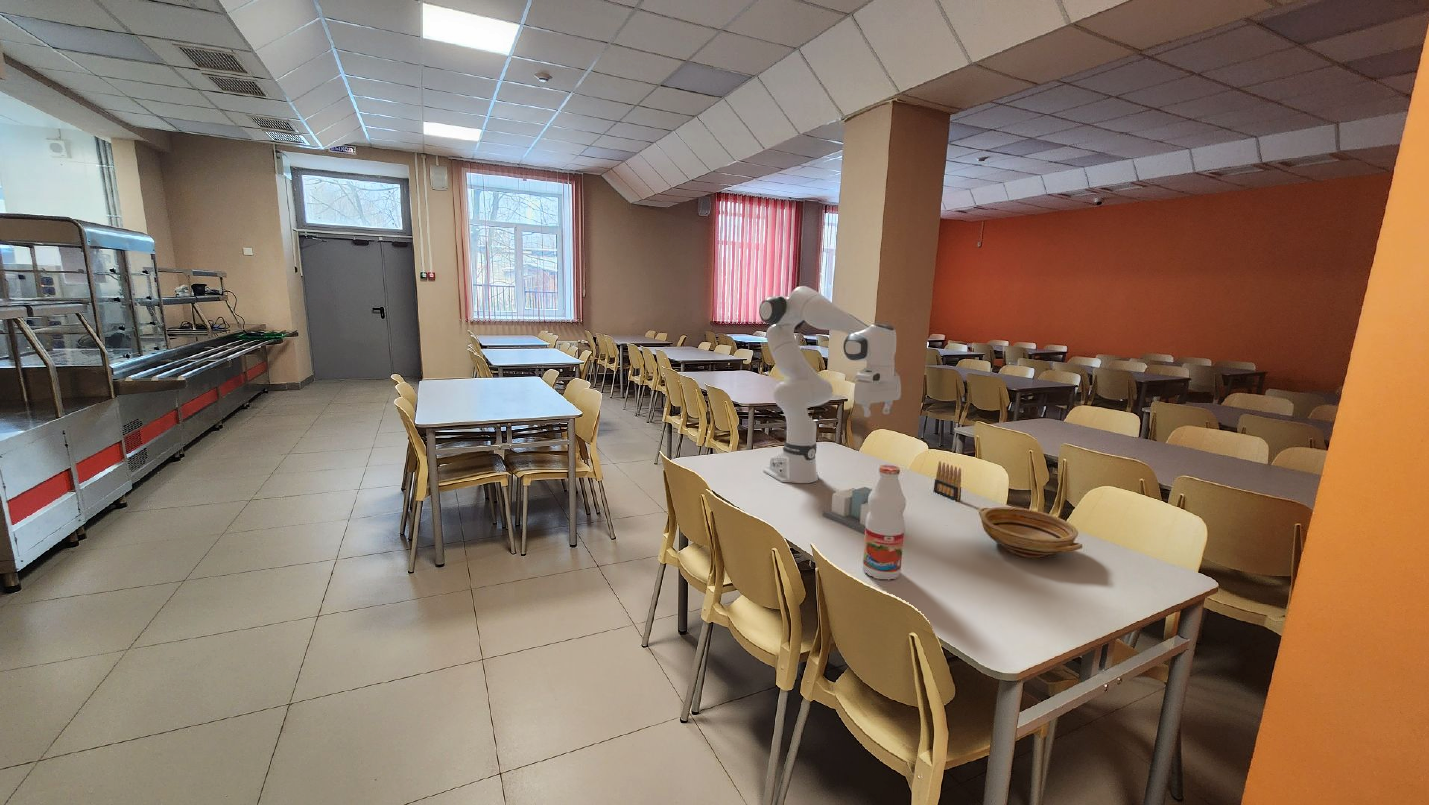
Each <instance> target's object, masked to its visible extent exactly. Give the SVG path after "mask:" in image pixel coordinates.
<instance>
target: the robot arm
mask: <svg viewBox="0 0 1429 805" xmlns="http://www.w3.org/2000/svg"><path fill="white" fill-rule="evenodd" d="M758 310H759V311H758V314H759V317H760V319H761V321H762V322H763V323H765V324H768V325H770V326H769V327H768V328H767V330H766V334H765V336H766V340H767V345H768V348H769V352H770V354H771V357H772V358H773V362H774V365H775V366H776V370H777V371H778V372H779V374H780V375H782V376H784V377H786V378H787V379H786V380H783V381H781V382H778V383H777V384H775V387H774V389H773V395H772V397H773V400H774V402H775V404H776V405H777V407H779V408H780V409H781V410H782V412H783V414H784V416H785V421H786V440H785V441H782V442H781V446H783V447H782V450H780V451H778V452H777V453H775V454H773V455H772V456H771V458H770V460H769V466H766V467H764V468H763V471H762V472H764V473H765V474H767V475H768V476H770V477H772V478H774V479H776V480H777V481H779V482H781V483H794V484H809V483H814V482H816V481H818V480H819V477H818V471H817V470H818V469H817V459H816V454H817V449H818V448H817V442H816V440H817V423H816V421H815V420H814V419H813V418H811V417H810V416H809V413H808V408H809V407H817V406H818V407H819V406H821V405H824V404H826V403H828V402H829V401H831V400H832V398H833V393H834V389H833V386H832V384H831V381H829V380H828V379H827V378H824V377H822V376H821V375H820V374H818V372H817V371H815V370H814V369H813V368H812V366H811V365H810V364H809V362H808V361H807V359H806V358H805V356H804V354H803V351H802V350H801V347H800V346H799V343H798V341H797V339H796V337H795V331H797V330H799V329H801V328H802V326H804V324H808V325H809V326H811V327H813V328H816V329H818V330H824V331H825V330H826V331H834V332H836V331H837V332H841V333H844V334H846V335H847V336H846V337H845V338H844V342H843V346H842V348H843V353H844V355H845V357H846V358H847V359H848V360H850V361H855V362H866V367H864V368H862V369H861V370H860V371H858V372H856V373H855V375H854V376H855V377H854V379H855V380H856V382H855V383H854V390H853V391H854V392H853V400H854V403H855V404H857V405H861V408H862V409H863V416H864V418H870V417H872V411H871V410H870V408H871V404H878V403H885V404H884V407H883V408H882V412H881V413H882V414H883V415H889V414H890V410H891V407H892V405H893V401H898V400H900V399H901V396H902V382H901V381H902V380H901V379H900V375H899V374H898V373H899V372H896V371H895V355H896V352H897V333H896V329H895V327H894V326H893V325H890V324H887V323H882V322H874V323H871V325H870V326H869V325H867V324H866V323H864V321H863V322H862V321H861V320H860V319H858V318H857V317H855V316H854V315H852V314H850V313H849V312H847V311H845V310H844V309H842V308H841V307H839V306H838V305H836V304H835V303H833V302H832V301H831V300H829V299H828V298H827V297H825V296H824V295H823V294H821V293H819V292H818V291H817V290H815V289H813V288H811V287H809V286H805V285H801V286H797V287H796V288H795V289H793V290H792V291H791V293H790V295H789V296H780V295H778V296H777V295H775V296H774V295H773V296H770V297H769V296H768V297H766V298H765V299H763V300H762V301H761V303H760V305H759V309H758Z"/></svg>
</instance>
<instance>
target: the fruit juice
mask: <svg viewBox="0 0 1429 805" xmlns="http://www.w3.org/2000/svg"><path fill="white" fill-rule="evenodd" d="M900 469H901V468H900V467H899V466H896V465H893V464H882V465H879V467H878V473H879V476H878V478H877V481H876V483H875V485H874V486H873V488H872V489H873V490H872V491H871V492H870V494H869V497H868V506H869V512H868V514H867V517H866V524H865V533H864V539H863V542H864V543H863V553H862V554H863V555H862V571H863V570H864V571H863V572H864V574H866V573H867V574H868V575H870V576H873V577H876V578H878V579H877V580H879V579H888V580H887V581H891V580H890V579H894V580H896V579H898V578H899V577H900V575H901V573H902V572H901V571H902V561H903V547H904V537H905V526H906V525H905V524H906V523H905V517H904V512H905V510H906V506H907V499H906V496H905V495H904V493H903V490H902V487H901V484H900V480H899V475H900V473H901V472H900V471H901V470H900ZM867 574H866V575H867ZM868 575H867V576H868ZM870 576H869V577H870Z"/></svg>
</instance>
